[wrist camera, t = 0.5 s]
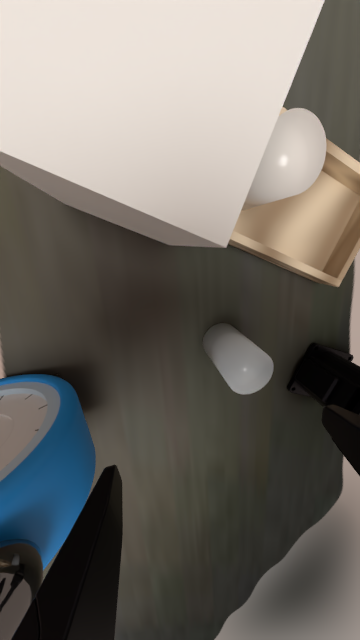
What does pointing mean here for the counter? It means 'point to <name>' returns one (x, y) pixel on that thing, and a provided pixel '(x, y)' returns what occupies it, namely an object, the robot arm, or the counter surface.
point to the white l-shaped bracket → (147, 105)
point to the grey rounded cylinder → (237, 359)
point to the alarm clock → (38, 483)
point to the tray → (309, 223)
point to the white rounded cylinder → (289, 158)
